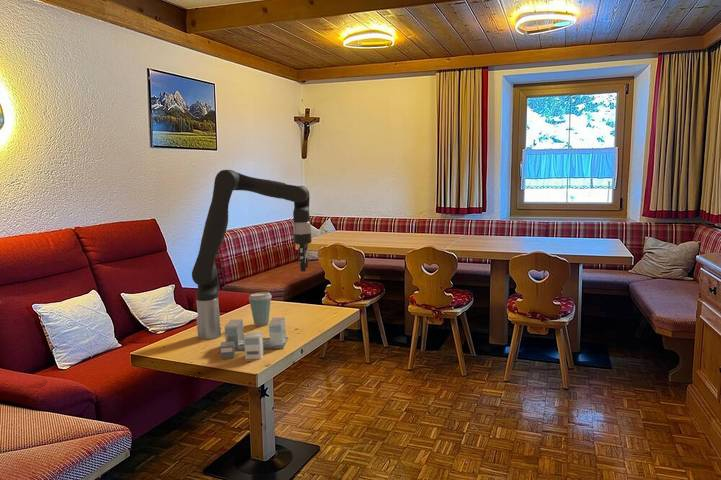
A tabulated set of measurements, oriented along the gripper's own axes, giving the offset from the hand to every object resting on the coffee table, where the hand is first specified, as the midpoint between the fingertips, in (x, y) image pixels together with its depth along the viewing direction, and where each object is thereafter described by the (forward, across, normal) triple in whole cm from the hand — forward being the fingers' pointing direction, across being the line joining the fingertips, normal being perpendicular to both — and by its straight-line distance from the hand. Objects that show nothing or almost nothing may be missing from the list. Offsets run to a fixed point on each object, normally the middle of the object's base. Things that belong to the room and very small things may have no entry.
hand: (304, 269), depth 234 cm
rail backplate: (+29, +14, -20) cm, 37 cm away
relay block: (+29, +26, -29) cm, 48 cm away
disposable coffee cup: (+29, -17, -24) cm, 41 cm away
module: (+29, +28, -18) cm, 44 cm away
